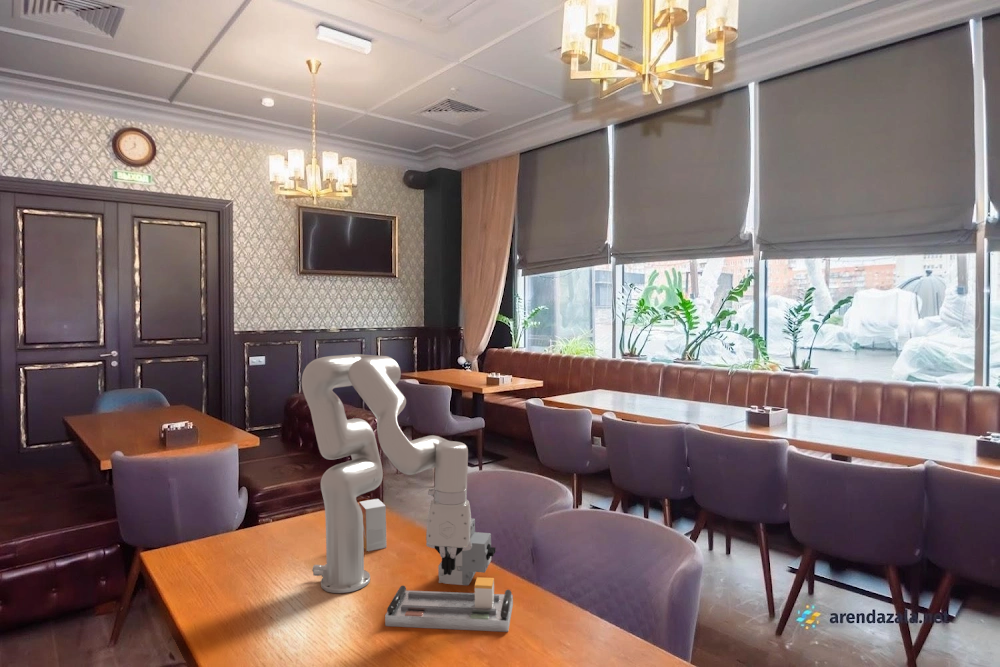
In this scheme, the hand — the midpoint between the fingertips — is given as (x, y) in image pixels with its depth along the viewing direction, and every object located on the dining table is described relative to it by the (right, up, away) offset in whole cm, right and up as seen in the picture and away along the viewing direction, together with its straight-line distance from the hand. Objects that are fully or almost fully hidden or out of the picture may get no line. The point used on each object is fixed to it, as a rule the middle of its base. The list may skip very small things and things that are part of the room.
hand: (448, 572), depth 136 cm
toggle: (+9, -7, -1) cm, 11 cm away
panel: (+1, -10, 0) cm, 10 cm away
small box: (-27, -9, +42) cm, 51 cm away
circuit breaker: (+4, -10, +19) cm, 21 cm away
